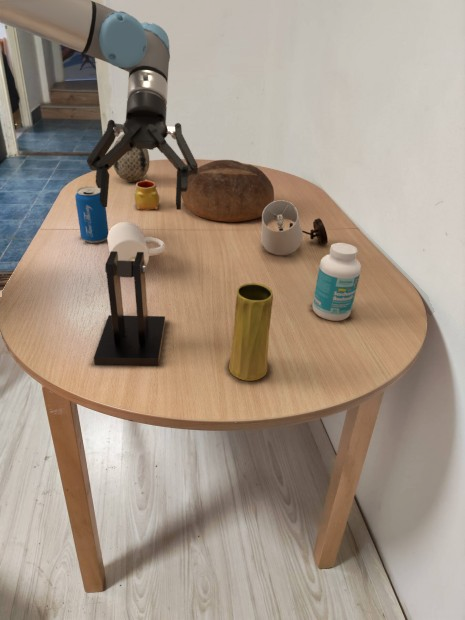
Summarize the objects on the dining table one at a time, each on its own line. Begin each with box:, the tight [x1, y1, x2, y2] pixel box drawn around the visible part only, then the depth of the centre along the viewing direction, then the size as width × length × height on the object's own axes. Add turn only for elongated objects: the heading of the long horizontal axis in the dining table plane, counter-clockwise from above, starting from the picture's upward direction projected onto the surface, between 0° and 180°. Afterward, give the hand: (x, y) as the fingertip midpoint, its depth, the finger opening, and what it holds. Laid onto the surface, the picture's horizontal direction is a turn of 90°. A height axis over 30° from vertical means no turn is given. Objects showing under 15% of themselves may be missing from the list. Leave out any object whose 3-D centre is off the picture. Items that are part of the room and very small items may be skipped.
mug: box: [106, 221, 166, 265], centre depth 98 cm, size 12×10×8 cm
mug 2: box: [134, 179, 160, 211], centre depth 130 cm, size 12×7×7 cm, turn 5°
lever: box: [117, 256, 148, 278], centre depth 74 cm, size 13×4×4 cm, turn 2°
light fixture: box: [260, 199, 329, 256], centre depth 108 cm, size 10×16×17 cm
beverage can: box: [74, 186, 109, 244], centre depth 107 cm, size 6×6×12 cm
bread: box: [181, 159, 275, 223], centre depth 129 cm, size 26×27×13 cm
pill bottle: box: [311, 242, 362, 322], centre depth 84 cm, size 8×7×14 cm
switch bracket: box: [93, 251, 166, 366], centre depth 72 cm, size 12×10×16 cm
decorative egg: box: [112, 133, 150, 183], centre depth 145 cm, size 12×12×15 cm
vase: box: [228, 282, 274, 382], centre depth 68 cm, size 6×6×14 cm
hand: (140, 205), depth 83 cm, fingers open, 13 cm apart
